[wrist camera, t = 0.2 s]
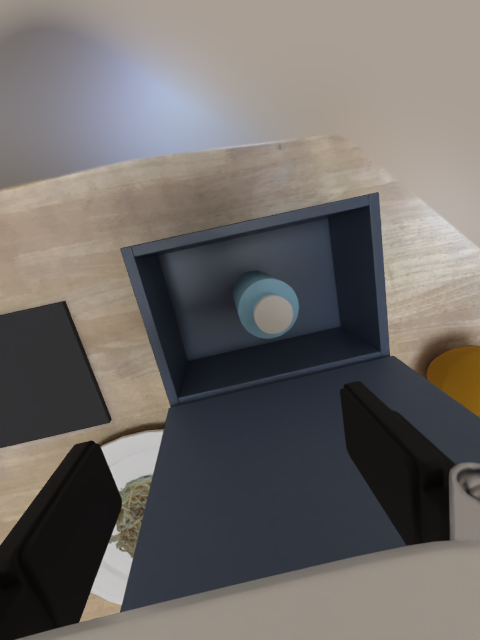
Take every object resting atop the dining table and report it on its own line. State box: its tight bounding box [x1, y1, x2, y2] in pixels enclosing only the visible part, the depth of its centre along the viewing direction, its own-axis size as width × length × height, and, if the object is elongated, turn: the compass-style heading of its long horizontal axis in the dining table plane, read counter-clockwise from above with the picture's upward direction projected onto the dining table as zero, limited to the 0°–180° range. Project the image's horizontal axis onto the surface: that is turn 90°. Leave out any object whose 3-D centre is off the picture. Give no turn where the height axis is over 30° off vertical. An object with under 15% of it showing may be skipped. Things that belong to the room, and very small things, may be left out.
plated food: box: [91, 429, 164, 605], centre depth 35 cm, size 30×30×3 cm
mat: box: [0, 301, 111, 448], centre depth 30 cm, size 15×14×1 cm
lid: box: [120, 356, 480, 613], centre depth 17 cm, size 14×20×5 cm
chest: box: [120, 192, 390, 407], centre depth 26 cm, size 14×20×9 cm
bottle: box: [233, 271, 299, 339], centre depth 24 cm, size 5×5×11 cm
